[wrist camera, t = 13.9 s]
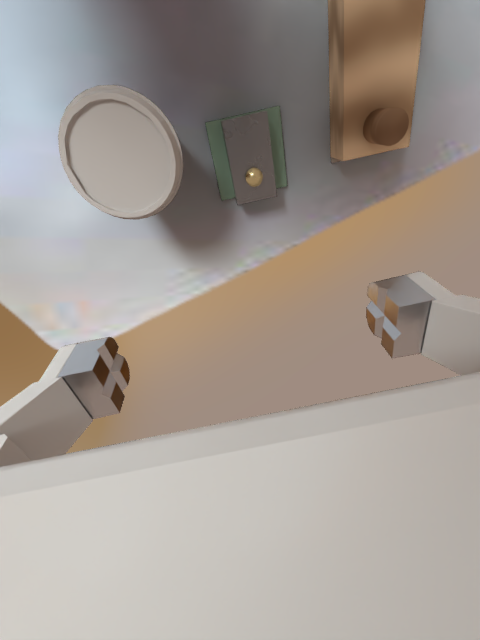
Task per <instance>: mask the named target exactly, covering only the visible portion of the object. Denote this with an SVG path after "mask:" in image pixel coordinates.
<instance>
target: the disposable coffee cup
mask: <svg viewBox="0 0 480 640" xmlns="http://www.w3.org/2000/svg"><path fill="white" fill-rule="evenodd" d="M58 140H59V152H60V156H61V161H62V164H63V167H64V170H65V172H66V174H67V176H68V178H69V180H70V182H71V183H72V185H73V186H74V187H75V189H76V190H77V191H78V193H79V194H80V195H81V196H82V197H83V198H84V199H85V200H87V201H88V202H89V203H90V204H92V205H93V206H95V207H96V208H98V209H99V210H101V211H103V212H105V213H107V214H110V215H112V216H115V217H119V218H123V219H142V218H147V217H150V216H152V215H155V214H157V213H158V212H160V211H162V210H163V209H164V208H165V207H166V206H167V205H168V204H169V203H170V202H171V201H172V200H173V198H174V197H175V195H176V193H177V191H178V189H179V187H180V183H181V179H182V173H183V157H182V151H181V146H180V143H179V140H178V137H177V135H176V132H175V130H174V128H173V127H172V125H171V123H170V121H169V120H168V119H167V117H166V116H165V115H164V114H163V112H162V111H161V110H160V109H159V108H158V107H157V106H156V105H155V104H154V103H153V102H152V101H150V100H149V99H148V98H146V97H145V96H143V95H142V94H140V93H138V92H136V91H133V90H131V89H129V88H125V87H121V86H117V85H101V86H96V87H93V88H90V89H87V90H85V91H83V92H82V93H80V94H79V95H77V96H76V97H75V98H74V99H73V100H72V102H71V103H70V104H69V105H68V106H67V108H66V110H65V112H64V114H63V117H62V119H61V122H60V128H59V134H58Z"/></svg>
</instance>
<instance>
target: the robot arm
mask: <svg viewBox="0 0 480 640" xmlns="http://www.w3.org/2000/svg"><path fill="white" fill-rule="evenodd" d="M367 296H368V297H369V298H370V299H371V300H372V301H371V302H370V303H369V305H368V306H367V307H366V318H367V322H368V325H369V328H370V330H371V331H372V332H373V334H374V335H375V336H377V337H380V338H382V341H381V344H382V346H383V347H384V348H385V350H386V351H387V352H388V354H389V355H390V356H391V358H397V357H403V356H409V355H414V354H420V353H421V355H423V356H425V357H427V358H429V359H431V360H433V361H435V362H437V363H439V364H440V365H442V366H444V367H446V368H449V369H450V370H452V371H454V372H456V373H458V374H460V375H461V376H456V377H452V378H447V379H442V380H437V381H432V382H427V383H421V384H416V385H411V386H406V387H401V388H396V389H391V390H386V391H381V392H376V393H371V394H366V395H361V396H355V397H351V398H345V399H341V400H335V401H330V402H325V403H320V404H315V405H310V406H305V407H300V408H295V409H290V410H285V411H280V412H275V413H270V414H265V415H260V416H255V417H250V418H245V419H240V420H235V421H230V422H225V423H220V424H214V425H210V426H205V427H200V428H194V429H189V430H184V431H179V432H175V433H169V434H164V435H160V436H154V437H150V438H145V439H139V440H134V441H129V442H124V443H119V444H113V445H108V446H103V447H98V448H94V449H88V450H83V451H78V452H73V453H68V454H65V453H66V452H67V451H68V450H69V449H70V447H71V446H72V445H73V444H74V443H75V442H76V440H77V439H78V438H79V437H80V436H81V434H82V433H83V432H84V431H85V430H86V428H87V427H88V426H89V425H90V424H91V422H92V421H93V420H92V419H96V418H101V417H105V416H109V415H113V414H118V413H120V410H121V407H122V404H123V401H124V397H125V396H124V394H123V392H122V391H123V390H124V389H125V388H126V387H127V386H128V383H129V379H130V374H129V373H130V372H129V367H128V363H127V361H126V359H125V358H124V357H123V356H121V355H119V354H118V353H117V351H118V345H117V343H116V341H115V340H114V339H113V338H111V337H106V338H101V339H95V340H90V341H85V342H80V343H74V344H70V345H65V346H63V347H61V348H60V349H59V351H58V352H57V354H56V355H55V357H54V358H53V360H52V362H51V363H50V365H49V366H48V368H47V370H46V371H45V373H44V374H43V376H42V377H41V379H40V380H39V382H35V383H33V384H31V385H30V386H29V387H27V388H26V389H24V390H23V391H22V392H20V393H19V394H17V395H16V396H15V397H14V398H12V399H11V400H9V401H8V402H6V403H5V404H4V405H3V406H1V407H0V640H480V299H479V298H474V297H470V296H466V295H458V296H456V295H455V294H453V293H452V292H451V291H449V290H448V289H446V288H445V287H443V286H442V285H440V284H439V283H438V282H436V281H435V280H434V279H432V278H431V277H429V276H428V275H427V274H425V273H424V272H419V271H418V272H414V273H411V274H406V275H402V276H398V277H394V278H390V279H385V280H381V281H377V282H373V283H370V284H369V286H368V291H367Z"/></svg>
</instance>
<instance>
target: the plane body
mask: <svg viewBox="0 0 480 640" xmlns="http://www.w3.org/2000/svg"><path fill="white" fill-rule="evenodd" d="M424 9H425V0H328V30H329V90H330V151H331V163H335V162H339V161H347V160H351V159H356V158H360V157H365V156H369V155H374V154H378V153H383V152H387V151H392V150H396V149H401V148H405V147H409V142H410V134H411V125H412V116H413V107H414V98H415V89H416V80H417V71H418V62H419V53H420V45H421V36H422V27H423V18H424Z"/></svg>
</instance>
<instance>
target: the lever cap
mask: <svg viewBox="0 0 480 640" xmlns="http://www.w3.org/2000/svg"><path fill="white" fill-rule="evenodd" d="M221 126H222V131H223V136H224V142H225V147H226V152H227V157H228V162H229V168H230V173H231V178H232V183H233V188H234V194H235V199H236V202H237V205H240V204H245V203H249V202H253V201H258V200H262V199H267V198H271V197H276V196H277V191H276V183H275V174H274V166H273V157H272V149H271V140H270V132H269V123H268V115H267V111H261V112H257V113H252V114H248V115H244V116H240V117H235V118H231V119H227V120H223V121H221Z"/></svg>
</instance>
